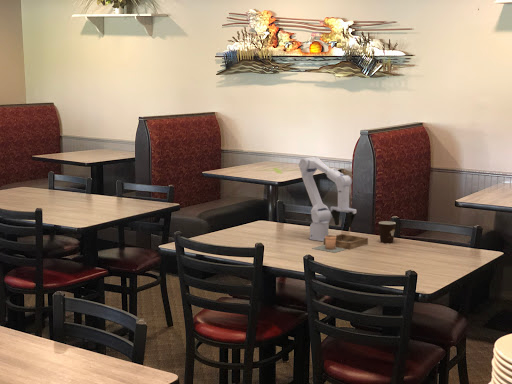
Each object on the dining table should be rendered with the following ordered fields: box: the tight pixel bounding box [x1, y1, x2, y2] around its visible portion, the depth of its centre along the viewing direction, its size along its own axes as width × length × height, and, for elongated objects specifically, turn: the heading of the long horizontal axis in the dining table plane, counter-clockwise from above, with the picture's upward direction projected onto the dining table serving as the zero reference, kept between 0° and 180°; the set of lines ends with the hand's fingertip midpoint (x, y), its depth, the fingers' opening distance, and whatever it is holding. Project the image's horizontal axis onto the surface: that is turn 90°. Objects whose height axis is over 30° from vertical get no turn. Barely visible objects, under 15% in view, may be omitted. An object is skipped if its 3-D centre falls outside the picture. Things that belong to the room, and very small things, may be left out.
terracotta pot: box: [325, 234, 337, 250], centre depth 335 cm, size 6×6×6 cm
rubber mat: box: [311, 244, 347, 254], centre depth 334 cm, size 14×9×1 cm, turn 48°
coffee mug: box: [378, 220, 398, 244], centre depth 349 cm, size 12×9×10 cm
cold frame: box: [323, 233, 369, 250], centre depth 345 cm, size 16×16×3 cm
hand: (343, 226), depth 344 cm, fingers open, 7 cm apart
